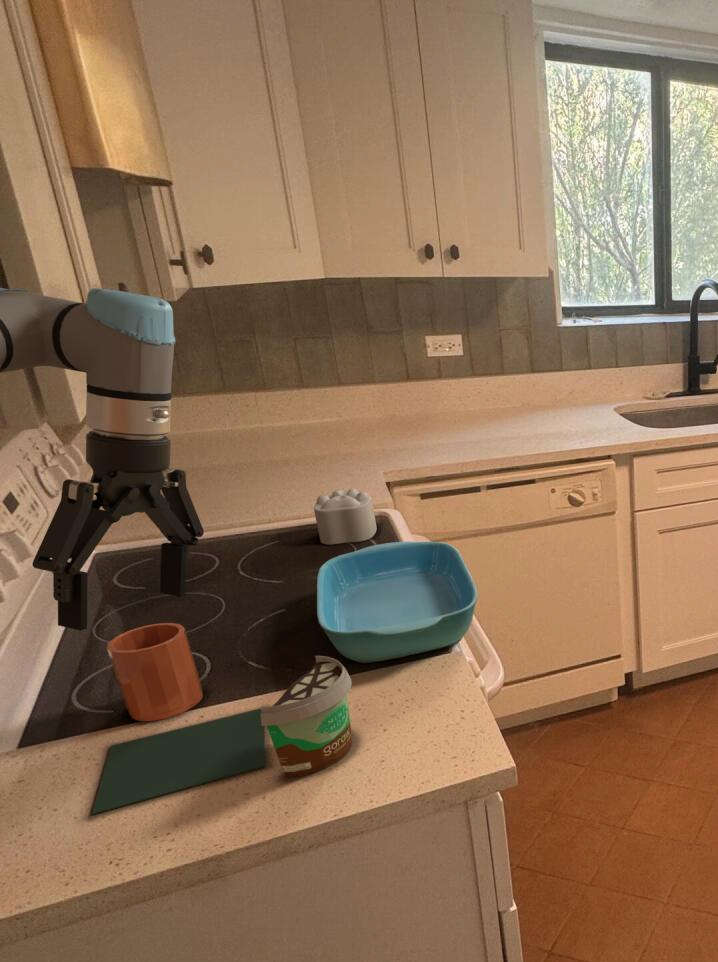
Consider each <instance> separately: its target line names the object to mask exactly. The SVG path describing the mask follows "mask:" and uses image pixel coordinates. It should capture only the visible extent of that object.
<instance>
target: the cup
mask: <svg viewBox="0 0 718 962" xmlns="http://www.w3.org/2000/svg"><path fill="white" fill-rule="evenodd" d="M189 641H190V640H189V637H188V635H187V631H186V628H185V627H184V626H183V625H182V624H181V623H176V622H175V623H174V622H162V623H152V624H147V625H142V626H140V627H136V628H133V629H130V630H127V631H126V632H125V631H124V632H122V633H121V634H118V635H116V636H115V637H114V638H113V639H111V640H110V641H108V643H107V646H106V650H107V653H108V657H109V659H110V662H111V665H112V669H113V671H114V674H115V676H116V680H117V683H118V686H119V689H120V692H121V696H122V698H123V701H124V704H125V707H126V710H127V711H128V714H129V716H130V718H131V719H133V720H135V721H139V722H154V721H159V720H164V719H169V718H171V717H174V716H177V715H181V714H183V713H185V712H186V711H189V710H190V709H192V708H193V707H195V706H196V705H198V704H199V703H200V702H201V701H202V699H203V696H204V692H203V687H202V683H201V679H200V677H199V673H198V670H197V666H196V663H195V659H194V656H193V652H192V649H191V645H190V642H189Z"/></svg>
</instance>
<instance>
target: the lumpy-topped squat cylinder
mask: <svg viewBox="0 0 718 962" xmlns="http://www.w3.org/2000/svg"><path fill="white" fill-rule="evenodd" d="M313 512H314V516H315V522H316V525H317V530H318V536H319V541H320V543H321V544H323V545H339V544H345V543H358V542H359V543H360V542H364V541H367V540H369V539H371V538H373V537H374V536H375V534H376V533H377V530H378V528H377V523H376V522H377V521H376V516H375V511H374V505H373V500H372V495H370V494H369V493H368V492H367V491H358V489H356V488H353V487H352V488H349V489H348V490H347V491H344V490H342V489H335V490H334V491H333V492H332V493H331V494H329V495H326V494H321V495H318V496H317V498H316V503H315V504H314V507H313Z"/></svg>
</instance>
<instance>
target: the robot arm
mask: <svg viewBox="0 0 718 962" xmlns="http://www.w3.org/2000/svg"><path fill="white" fill-rule="evenodd" d="M86 298H87V299H86V302H79V301H75V300H69V299H65V298H59V297H54V296H49V295H44V294H38V293H35V292H33V291H32V292H30V291H28V290H26V289H19V288H11V289H10V288H3V287H0V373H8V372H15V371H20V370H26V369H31V368H38V367H52V368H58V369H64V370H69V371H75V372H81V373H86V374H85V379H86V380H85V383H86V398H85V399H86V400H85V425H86V427H88V428H89V429H90V431H89V432H88V433H86V434H85V461H86V464H88V465H89V467H90V468H91V470H92V476H91V478H90V480H89V481H80V480H75V479H70V478H68V479H67V478H66V479H65V480H64V481H63V483H62V488H61V497H60V501H59V503H58V505H57V507H56V510H55V512H54V515H53V517H52V519H51V520H50V523H49V525H48V527H47V530H46V532H45V534H44V536H43V539H42V541H41V543H40V545H39V548H38V550H37V552H36V554H35V556H34V558H33V560H32V567H33V568H34V569H37V570H41V571H46V572H49V573H50V572H51V573H52V575H53V576H52V577H53V579H52V580H53V581H52V583H53V584H52V585H53V588H52V589H53V590H52V591H53V593H52V594H53V595H52V597H53V599H54V600H55V601H56V602H57V626H58V627H63V628H67V629H72V630H76V631H83V630H87V629H88V584H89V583H88V579H89V578H88V577H89V575H88V573H89V572H86V571H83V570H82V569H83V567H84V565H85V564H86V562H87V561H88V560H89V558H90V557H91V556H92V554H93V552H94V551H95V550H96V548H97V547H98V545H99V544H100V542H101V541H102V539H103V538H104V536H105V535H106V533H108V530H109V529H110V528H111V526H112V525H113V524H115V523H118V522H119V521H120V520H121V518H122V517H127V516H128V517H129V516H132V515H133V514H135V513H144V514H145V515H146V516H147V517H148V518H149V519H150V521H151V522H152V523H153V524H154V525H155V527H156V528H157V529H158V530H159V532H161V534H162V535H163V536H164V538H165V539H166V540H167V541H168V542H162V543H161V548H160V549H161V551H160V578H159V579H160V580H159V581H160V583H159V584H160V585H159V593H160V594H163V595H169V596H172V597H173V596H174V597H178V598H181V597H184V596H186V577H187V576H186V575H187V574H186V573H187V568H188V566H189V551H190V549H189V548H190V546H191V547H196V546H197V545H198V543H199V538H201V537H203V536H204V533H205V531H204V528H203V525H202V523H201V520H200V517H199V515H198V512H197V510H196V508H195V505H194V502H193V500H192V497H191V495H190V493H189V490H188V488H187V475H186V471H184V470H182V469H177V468H172V467H170V466H171V445H172V444H171V441H172V440H170V439H169V437H168V436H166V435H167V434H169V433H171V413H172V376H173V364H174V350H175V345H176V337H175V334H174V333H175V331H174V311H173V307H172V306H171V304H170V303H169V302H168V301H166V300H165V299H162V298H160V297H155V296H152V295H151V296H150V295H146V294H138V293H133V292H128V291H122V290H116V289H109V288H108V289H107V288H101V287H96V288H95V287H94V288H91V289H90V290H89V291H88V292H87V297H86ZM101 507H102V509H101ZM69 560H70V561H69Z"/></svg>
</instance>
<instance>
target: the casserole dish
mask: <svg viewBox="0 0 718 962" xmlns="http://www.w3.org/2000/svg"><path fill="white" fill-rule="evenodd" d="M316 580H317V581H316V616H317V621H318V624H319V626H320V627H321V628H322V630H323V631H324V633H325V634H326V636H327V637H328V639H329V641H330V642H331V643H332V645H333V646H334V648H335V649H336V650H337V651H338V653H340V654H341V655H342V656H343V657H345V658H346V659H349V660H351V661H355V662H356V663H360V664H361V663H362V664H369V663H370V664H371V663H378V662H383V661H389V660H393V659H394V660H395V659H399V658H404V657H409V656H410V655H412V656H413V655H418V654H422V653H427V652H431V651H432V652H433V651H435V650H439V649H443V648H447V647H449V646H451V645H453V644H456V643H457V642H458V641H459V640H461V639H463V637H464V636H465V635H466V634H467V633H468V631H469V629H470V627H471V625H472V622H473V617H474V614H475V609H476V604H477V601H478V595H479V594H478V589H477V586H476V583H475V581H474V579H473V577H472V574H471V572H470V571H469V568H468V566H467V564H466V562H465V560H464V558H463V556H462V555H461V553H460V551H459V549H457V548H456V547H455V546H453V545H452V544H450V543H449V542H448V543H447V542H443V541H395V542H394V541H393V542H386V543H380V544H375V545H371V546H367V547H363V548H360V549H358V550H356V551H355V550H354V551H352V552H349V553H344V554H341V555H338V556H335V557H332V558H331V559H328V560H327V561H326V562H325V563H323V564H322V565H321V566H320V568H319V570H318V573H317V579H316Z"/></svg>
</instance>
